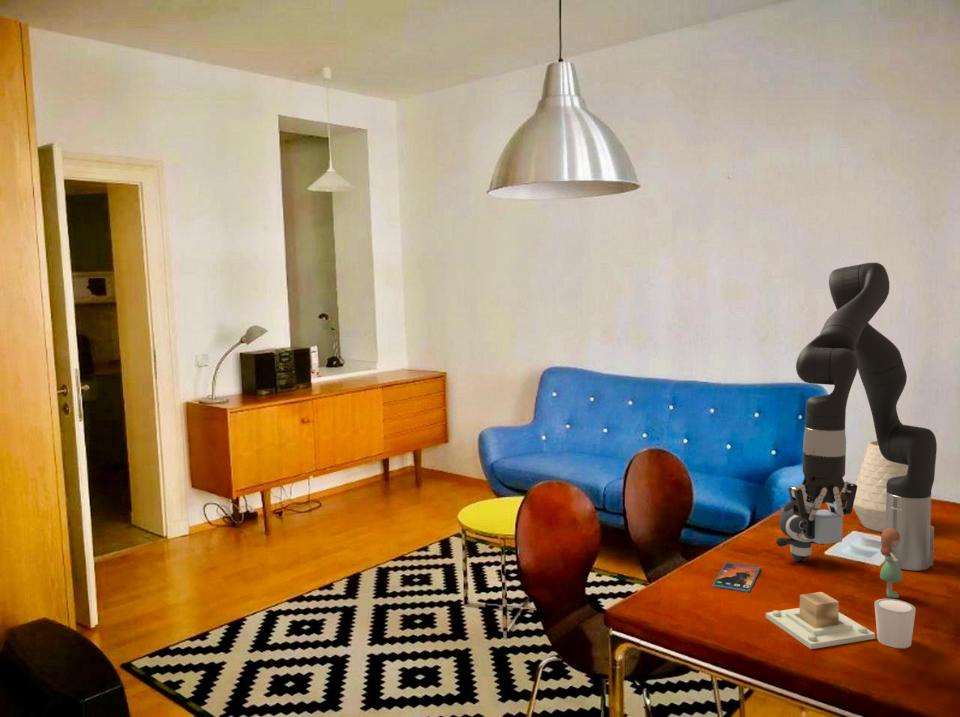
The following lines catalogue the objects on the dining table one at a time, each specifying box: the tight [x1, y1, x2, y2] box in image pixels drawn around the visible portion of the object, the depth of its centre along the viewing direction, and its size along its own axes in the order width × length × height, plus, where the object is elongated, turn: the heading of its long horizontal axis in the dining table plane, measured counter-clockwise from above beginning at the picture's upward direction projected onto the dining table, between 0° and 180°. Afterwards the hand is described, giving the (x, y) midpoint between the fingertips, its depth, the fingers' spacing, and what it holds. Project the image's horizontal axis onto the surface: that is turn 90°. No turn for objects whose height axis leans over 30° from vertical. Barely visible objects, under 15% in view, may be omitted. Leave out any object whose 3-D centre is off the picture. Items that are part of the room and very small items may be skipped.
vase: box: [852, 440, 908, 533], centre depth 205 cm, size 18×17×23 cm
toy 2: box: [879, 528, 904, 599], centre depth 161 cm, size 13×4×15 cm, turn 163°
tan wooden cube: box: [799, 591, 840, 629], centre depth 149 cm, size 5×5×5 cm
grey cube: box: [803, 509, 844, 545], centre depth 147 cm, size 5×5×5 cm
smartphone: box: [712, 561, 761, 594], centre depth 175 cm, size 8×1×15 cm
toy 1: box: [775, 500, 825, 562], centre depth 182 cm, size 12×10×15 cm
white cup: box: [874, 598, 916, 649], centre depth 142 cm, size 7×7×7 cm
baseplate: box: [765, 607, 876, 650], centre depth 149 cm, size 14×14×2 cm
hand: (821, 536), depth 147 cm, fingers closed on grey cube, 5 cm apart
